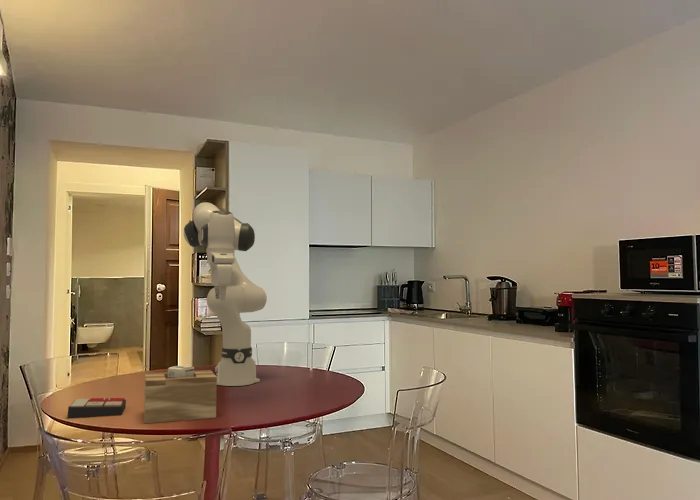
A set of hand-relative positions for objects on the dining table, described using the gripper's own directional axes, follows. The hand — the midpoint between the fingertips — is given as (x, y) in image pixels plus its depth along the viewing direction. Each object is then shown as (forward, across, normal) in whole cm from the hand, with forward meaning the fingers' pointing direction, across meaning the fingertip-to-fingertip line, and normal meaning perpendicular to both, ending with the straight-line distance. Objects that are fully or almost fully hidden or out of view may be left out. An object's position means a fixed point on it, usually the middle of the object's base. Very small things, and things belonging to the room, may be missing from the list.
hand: (220, 299), depth 181 cm
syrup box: (+35, +10, -13) cm, 38 cm away
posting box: (+34, +10, -13) cm, 38 cm away
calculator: (+35, -2, -36) cm, 51 cm away
